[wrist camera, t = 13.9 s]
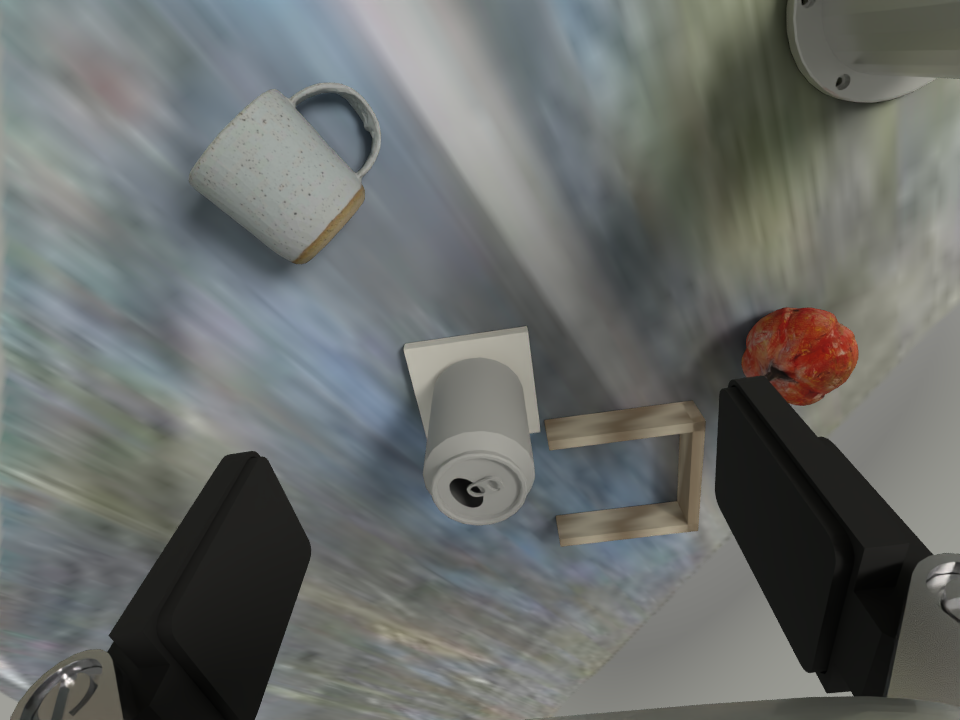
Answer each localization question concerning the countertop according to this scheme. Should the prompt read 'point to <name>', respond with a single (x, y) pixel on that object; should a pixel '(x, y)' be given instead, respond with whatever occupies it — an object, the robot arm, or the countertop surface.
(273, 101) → the ceramic mug
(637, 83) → the countertop surface
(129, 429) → the countertop surface
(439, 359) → the tile
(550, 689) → the countertop surface
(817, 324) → the red tomato
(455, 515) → the can
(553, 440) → the open wooden frame
